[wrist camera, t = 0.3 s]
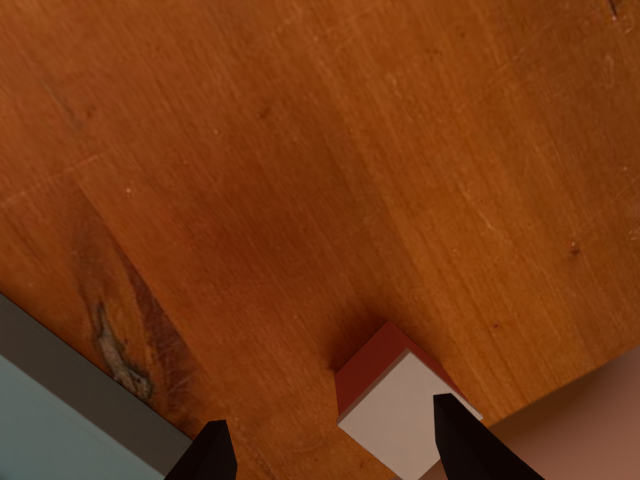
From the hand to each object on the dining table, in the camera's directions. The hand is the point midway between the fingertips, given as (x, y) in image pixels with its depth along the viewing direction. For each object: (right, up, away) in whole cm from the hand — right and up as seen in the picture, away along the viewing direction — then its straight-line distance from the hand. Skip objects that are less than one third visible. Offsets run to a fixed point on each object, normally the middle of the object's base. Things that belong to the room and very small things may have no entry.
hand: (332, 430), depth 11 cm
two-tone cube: (+4, -2, +9) cm, 10 cm away
